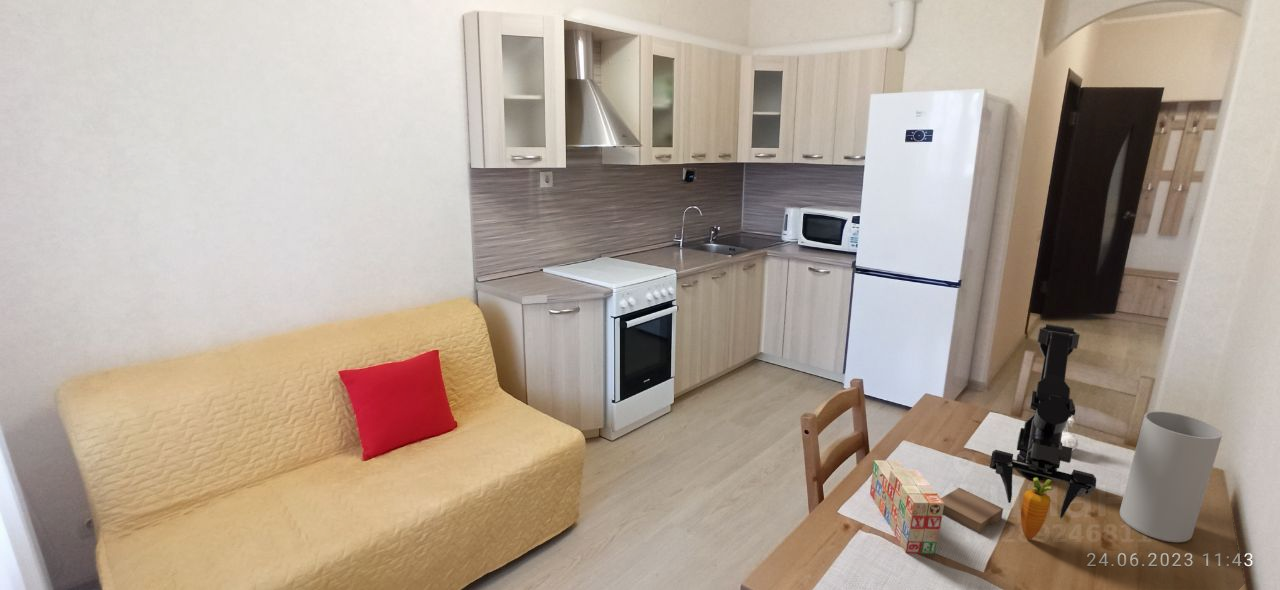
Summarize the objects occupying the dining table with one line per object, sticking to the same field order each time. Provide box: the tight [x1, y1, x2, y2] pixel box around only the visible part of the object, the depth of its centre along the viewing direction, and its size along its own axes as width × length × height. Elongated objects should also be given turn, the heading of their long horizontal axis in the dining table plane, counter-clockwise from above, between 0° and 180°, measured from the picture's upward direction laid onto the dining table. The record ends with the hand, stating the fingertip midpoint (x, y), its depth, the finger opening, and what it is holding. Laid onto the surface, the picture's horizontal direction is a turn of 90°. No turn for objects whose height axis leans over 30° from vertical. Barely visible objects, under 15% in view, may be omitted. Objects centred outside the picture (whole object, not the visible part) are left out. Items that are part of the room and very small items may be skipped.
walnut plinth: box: [940, 487, 1004, 535], centre depth 136 cm, size 10×10×2 cm
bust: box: [1061, 415, 1079, 452], centre depth 167 cm, size 12×8×11 cm
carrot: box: [1020, 477, 1053, 541], centre depth 126 cm, size 5×5×15 cm
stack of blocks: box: [869, 459, 944, 555], centre depth 132 cm, size 21×6×12 cm, turn 179°
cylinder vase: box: [1119, 410, 1223, 543], centre depth 131 cm, size 12×12×25 cm
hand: (1034, 509), depth 126 cm, fingers open, 9 cm apart
